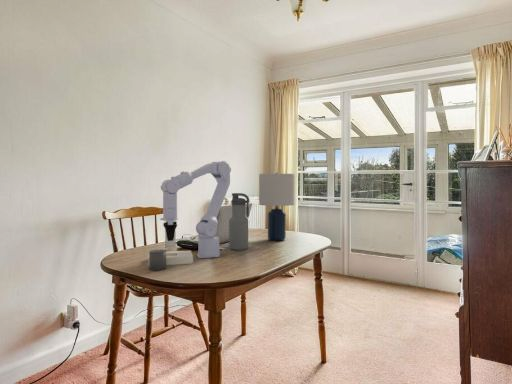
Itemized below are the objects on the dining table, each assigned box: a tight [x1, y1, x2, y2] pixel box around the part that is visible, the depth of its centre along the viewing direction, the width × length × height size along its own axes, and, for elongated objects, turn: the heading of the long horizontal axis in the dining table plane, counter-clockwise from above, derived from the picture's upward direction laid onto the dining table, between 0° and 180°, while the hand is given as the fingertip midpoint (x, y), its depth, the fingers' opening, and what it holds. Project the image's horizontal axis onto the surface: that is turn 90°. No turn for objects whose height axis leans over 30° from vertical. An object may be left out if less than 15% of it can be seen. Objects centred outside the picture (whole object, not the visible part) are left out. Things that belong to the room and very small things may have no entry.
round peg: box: [148, 249, 167, 272], centre depth 133 cm, size 6×6×7 cm
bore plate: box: [147, 250, 194, 267], centre depth 145 cm, size 18×12×3 cm, turn 105°
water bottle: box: [228, 192, 250, 251], centre depth 172 cm, size 10×10×28 cm
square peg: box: [164, 229, 176, 249], centre depth 145 cm, size 4×4×7 cm
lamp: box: [258, 172, 296, 242], centre depth 196 cm, size 20×20×39 cm
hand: (170, 239), depth 145 cm, fingers closed on square peg, 4 cm apart
